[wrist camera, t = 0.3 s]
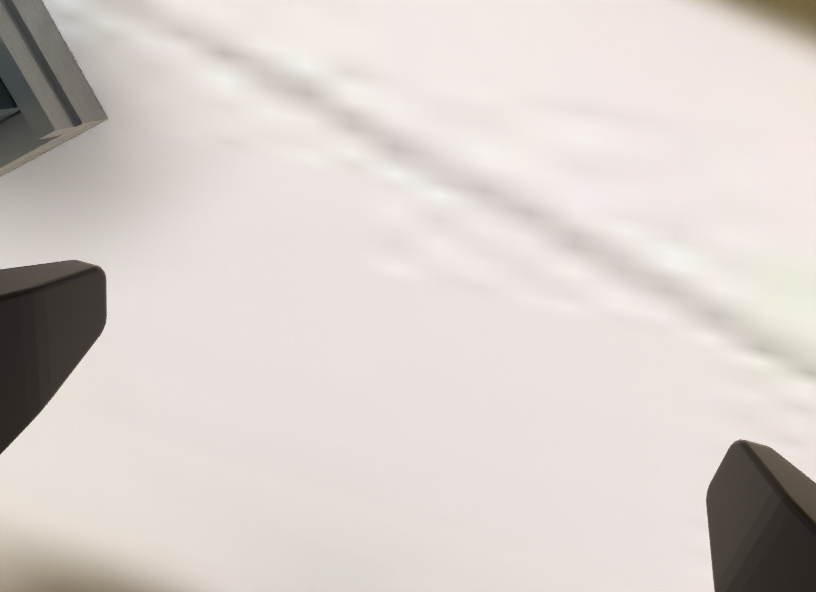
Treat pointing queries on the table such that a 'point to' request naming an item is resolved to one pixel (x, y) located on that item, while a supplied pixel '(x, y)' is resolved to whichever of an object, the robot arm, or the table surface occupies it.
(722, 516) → the robot arm
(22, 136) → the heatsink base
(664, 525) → the table surface
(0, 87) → the grey-blue brushed block
